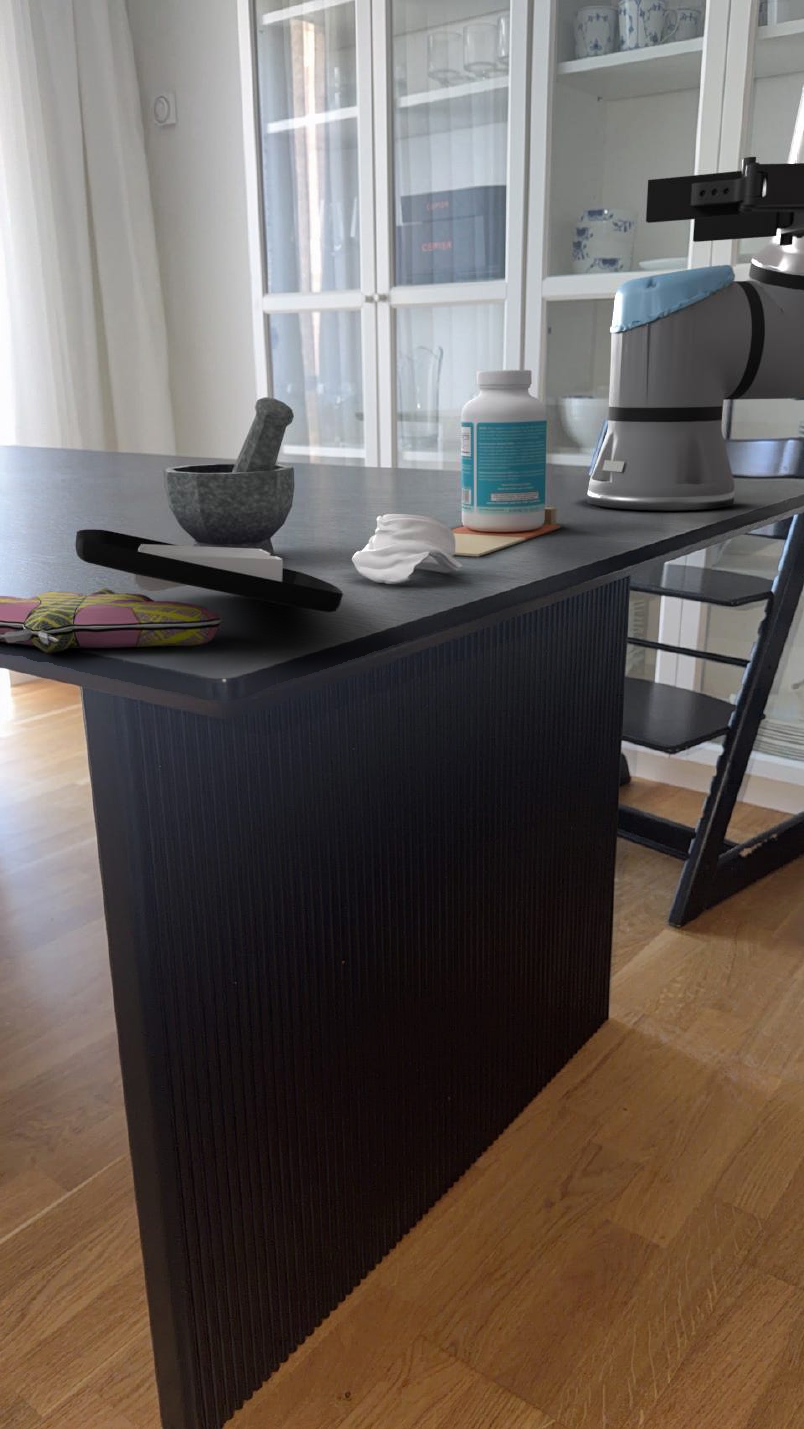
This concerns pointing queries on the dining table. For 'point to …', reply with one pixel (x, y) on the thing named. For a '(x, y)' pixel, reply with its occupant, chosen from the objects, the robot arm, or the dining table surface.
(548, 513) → the stop bar
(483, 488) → the pill bottle
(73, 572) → the dining table surface
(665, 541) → the dining table surface
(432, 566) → the white folded cloth ring
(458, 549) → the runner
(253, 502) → the mortar and pestle
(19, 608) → the patterned fabric pouch
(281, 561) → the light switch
